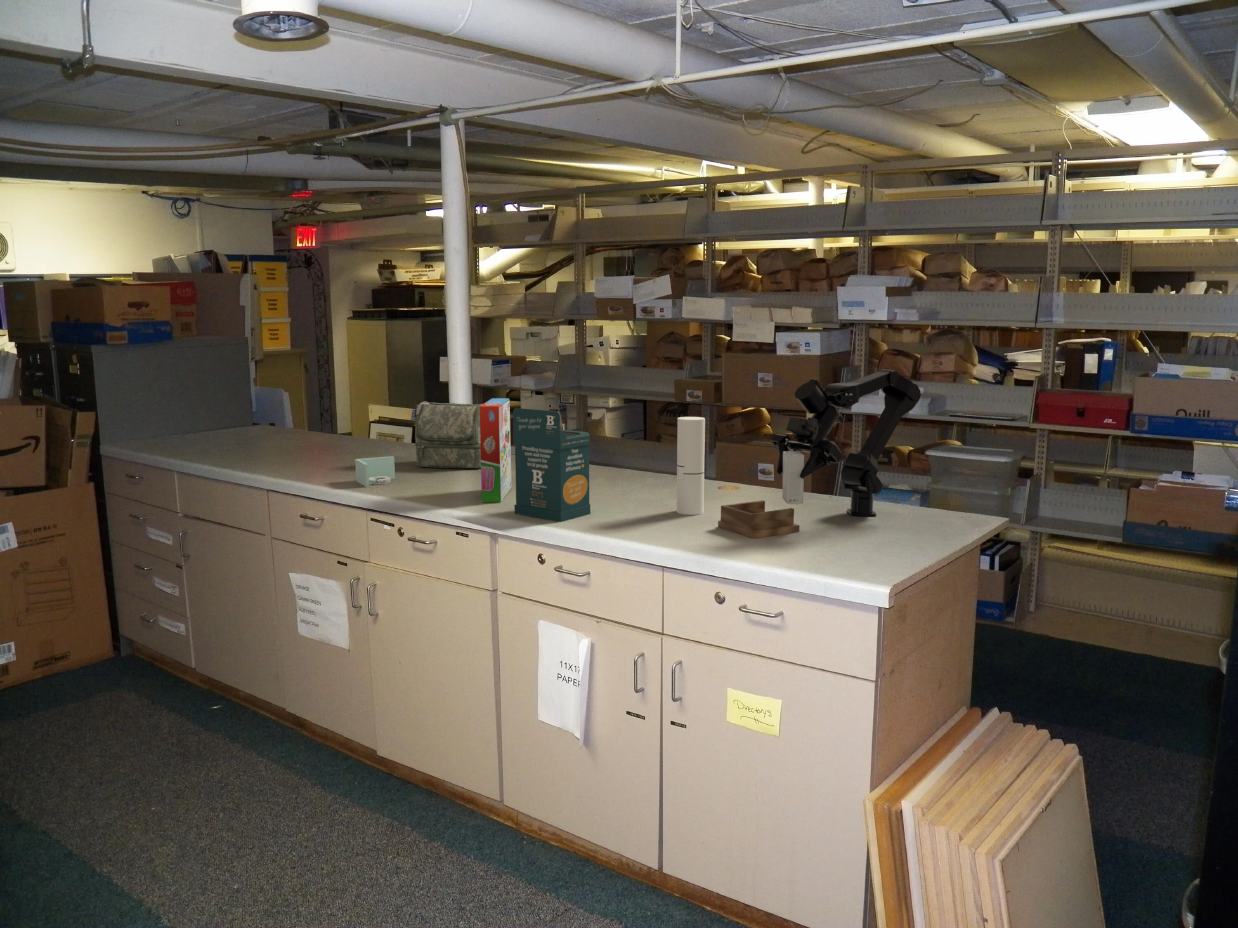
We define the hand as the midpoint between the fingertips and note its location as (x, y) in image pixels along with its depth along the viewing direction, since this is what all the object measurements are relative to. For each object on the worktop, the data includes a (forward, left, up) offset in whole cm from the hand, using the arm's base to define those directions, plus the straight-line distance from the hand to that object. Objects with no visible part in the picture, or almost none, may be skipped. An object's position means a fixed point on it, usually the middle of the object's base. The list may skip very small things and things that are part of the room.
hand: (789, 475), depth 229 cm
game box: (-38, -78, -13) cm, 88 cm away
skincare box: (-1, +1, -7) cm, 7 cm away
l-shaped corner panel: (-56, -118, -14) cm, 132 cm away
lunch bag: (-90, -102, -13) cm, 137 cm away
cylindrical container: (-18, -23, -13) cm, 32 cm away
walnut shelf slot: (+1, -7, -13) cm, 15 cm away
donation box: (-16, -58, -13) cm, 62 cm away
